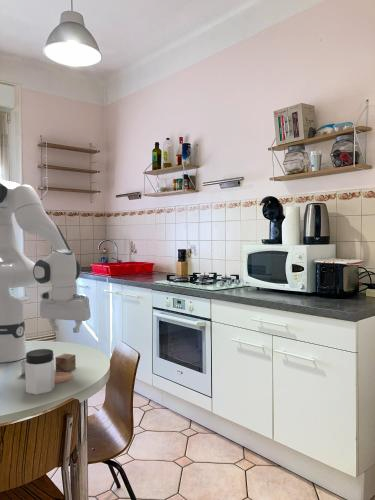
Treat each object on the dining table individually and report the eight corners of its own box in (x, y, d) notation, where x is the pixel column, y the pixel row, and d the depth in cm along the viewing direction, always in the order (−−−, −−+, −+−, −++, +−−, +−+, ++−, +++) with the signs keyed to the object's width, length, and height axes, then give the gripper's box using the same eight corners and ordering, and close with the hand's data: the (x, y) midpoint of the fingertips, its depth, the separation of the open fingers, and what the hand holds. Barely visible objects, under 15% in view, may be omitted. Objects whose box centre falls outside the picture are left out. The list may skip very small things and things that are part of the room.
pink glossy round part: (38, 381, 138) (38, 378, 138) (56, 372, 146) (56, 370, 146) (60, 384, 135) (60, 382, 135) (77, 375, 143) (77, 373, 143)
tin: (18, 375, 144) (18, 362, 144) (28, 371, 149) (28, 358, 148) (29, 377, 142) (28, 364, 142) (38, 372, 147) (38, 360, 147)
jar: (49, 394, 126) (48, 356, 126) (22, 395, 126) (21, 356, 126) (57, 384, 135) (56, 348, 135) (32, 384, 135) (31, 348, 134)
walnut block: (55, 370, 149) (55, 357, 149) (64, 366, 154) (64, 353, 154) (66, 372, 147) (66, 358, 147) (75, 368, 152) (75, 354, 152)
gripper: (93, 293, 148) (94, 331, 149) (48, 292, 156) (49, 328, 156) (83, 296, 143) (84, 335, 143) (36, 294, 150) (37, 331, 151)
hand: (65, 331), depth 150 cm, fingers open, 8 cm apart
